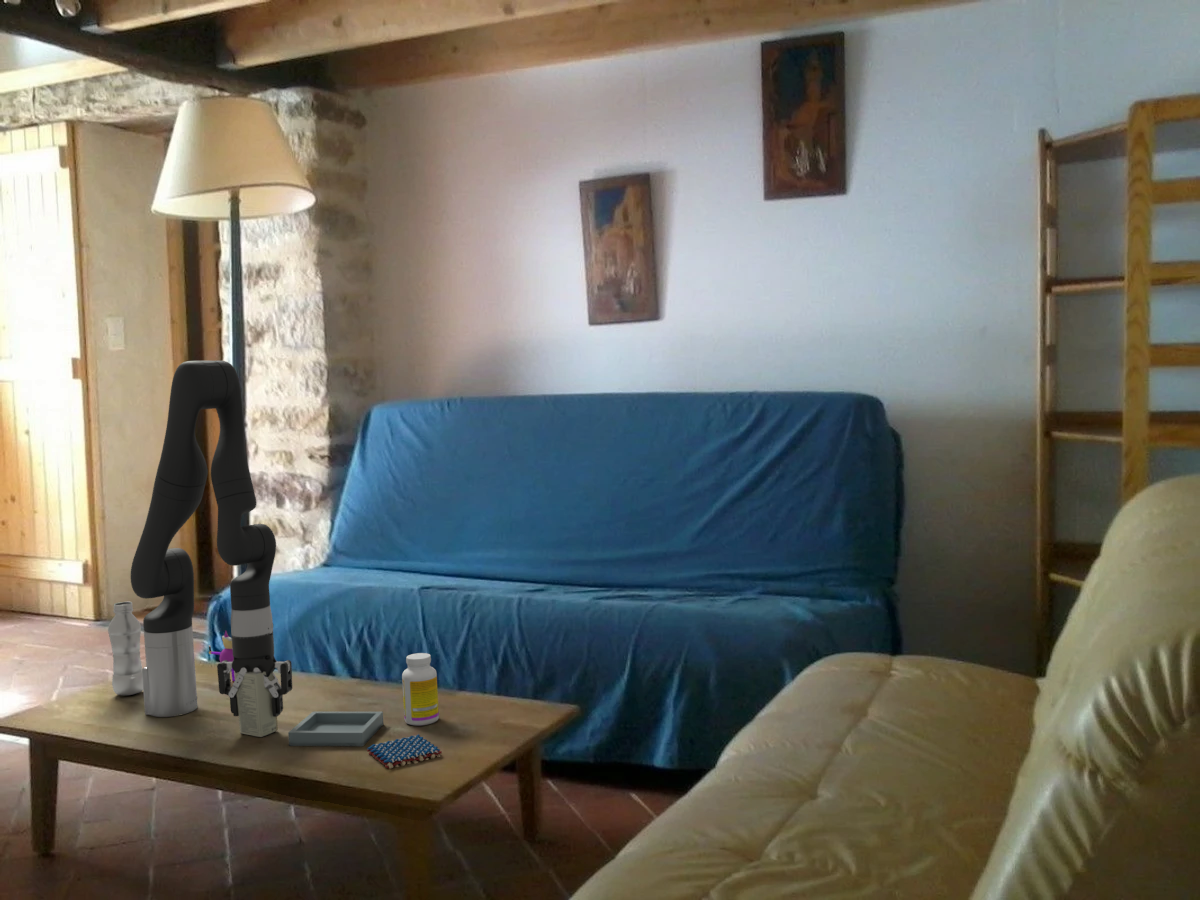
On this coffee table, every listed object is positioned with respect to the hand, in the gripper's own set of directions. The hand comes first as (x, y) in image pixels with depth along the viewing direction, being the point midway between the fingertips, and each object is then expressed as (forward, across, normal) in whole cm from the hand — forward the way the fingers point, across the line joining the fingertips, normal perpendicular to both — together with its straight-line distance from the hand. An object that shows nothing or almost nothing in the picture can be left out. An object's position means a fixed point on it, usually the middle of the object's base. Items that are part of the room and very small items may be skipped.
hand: (257, 715), depth 205 cm
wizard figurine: (+4, -21, +32) cm, 38 cm away
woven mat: (+4, +32, -11) cm, 34 cm away
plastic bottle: (+4, -40, +24) cm, 47 cm away
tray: (+3, +16, -1) cm, 16 cm away
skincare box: (+4, 0, 0) cm, 4 cm away
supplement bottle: (+4, +30, +7) cm, 31 cm away
